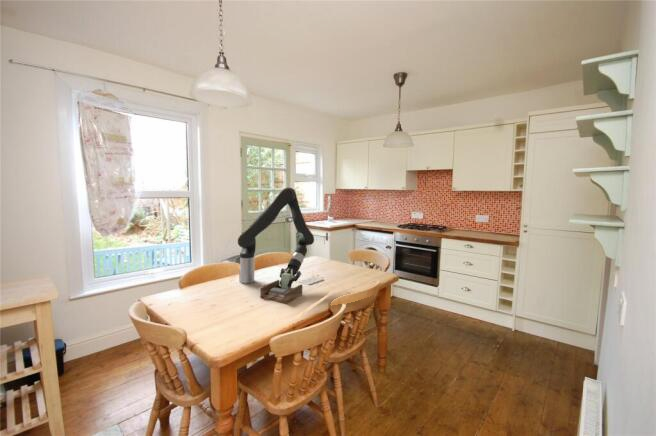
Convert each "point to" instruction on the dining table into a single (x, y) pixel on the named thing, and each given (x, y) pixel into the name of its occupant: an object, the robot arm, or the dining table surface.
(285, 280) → the grey-green block
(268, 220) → the robot arm
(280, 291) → the offcut short
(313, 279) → the pale grey flat slab
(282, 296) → the offcut long
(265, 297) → the rack
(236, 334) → the dining table surface
